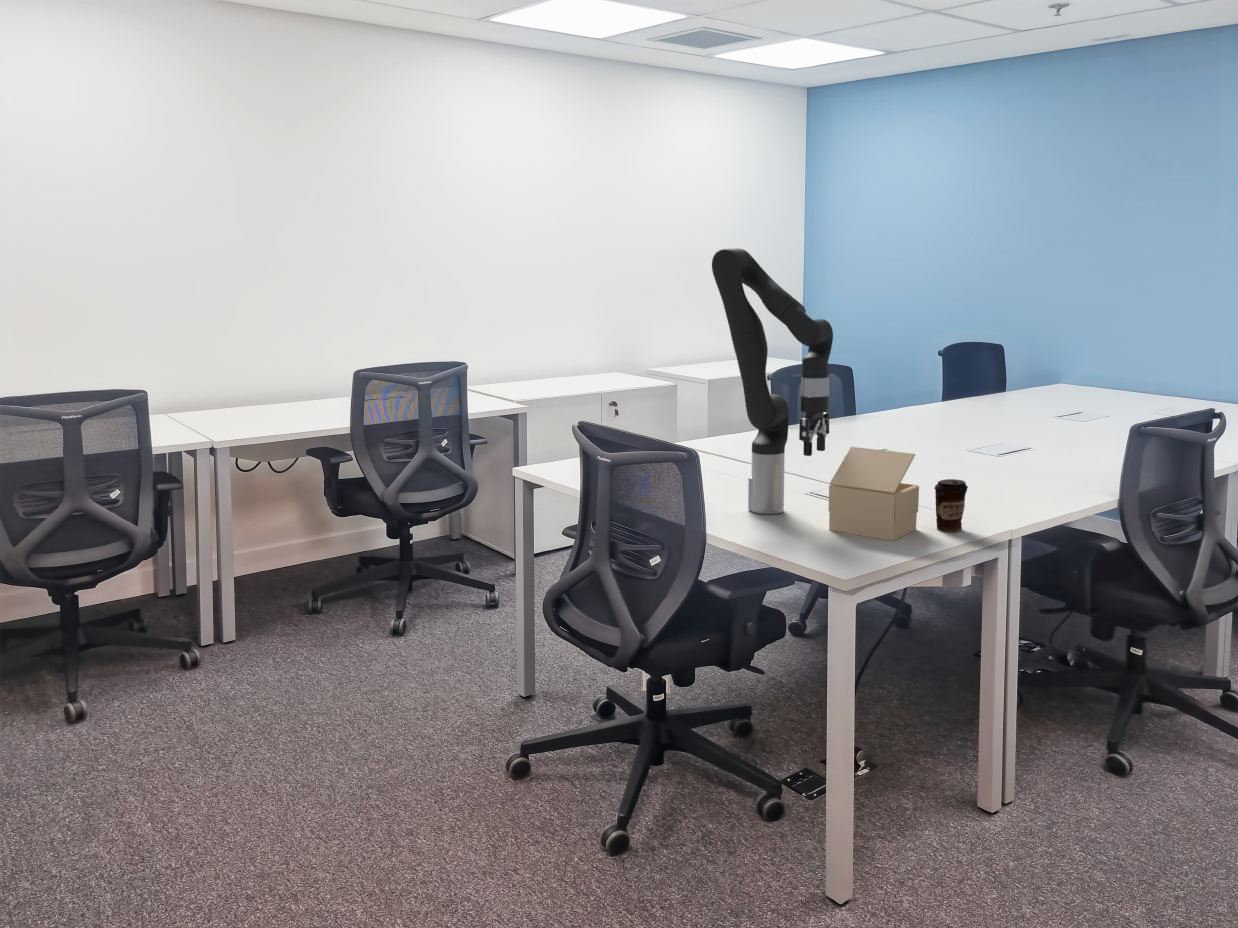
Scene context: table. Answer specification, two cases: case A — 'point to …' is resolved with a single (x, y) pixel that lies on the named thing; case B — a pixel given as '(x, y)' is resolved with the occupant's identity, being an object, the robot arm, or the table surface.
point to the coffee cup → (950, 504)
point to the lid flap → (872, 469)
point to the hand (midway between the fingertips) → (814, 453)
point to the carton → (874, 511)
